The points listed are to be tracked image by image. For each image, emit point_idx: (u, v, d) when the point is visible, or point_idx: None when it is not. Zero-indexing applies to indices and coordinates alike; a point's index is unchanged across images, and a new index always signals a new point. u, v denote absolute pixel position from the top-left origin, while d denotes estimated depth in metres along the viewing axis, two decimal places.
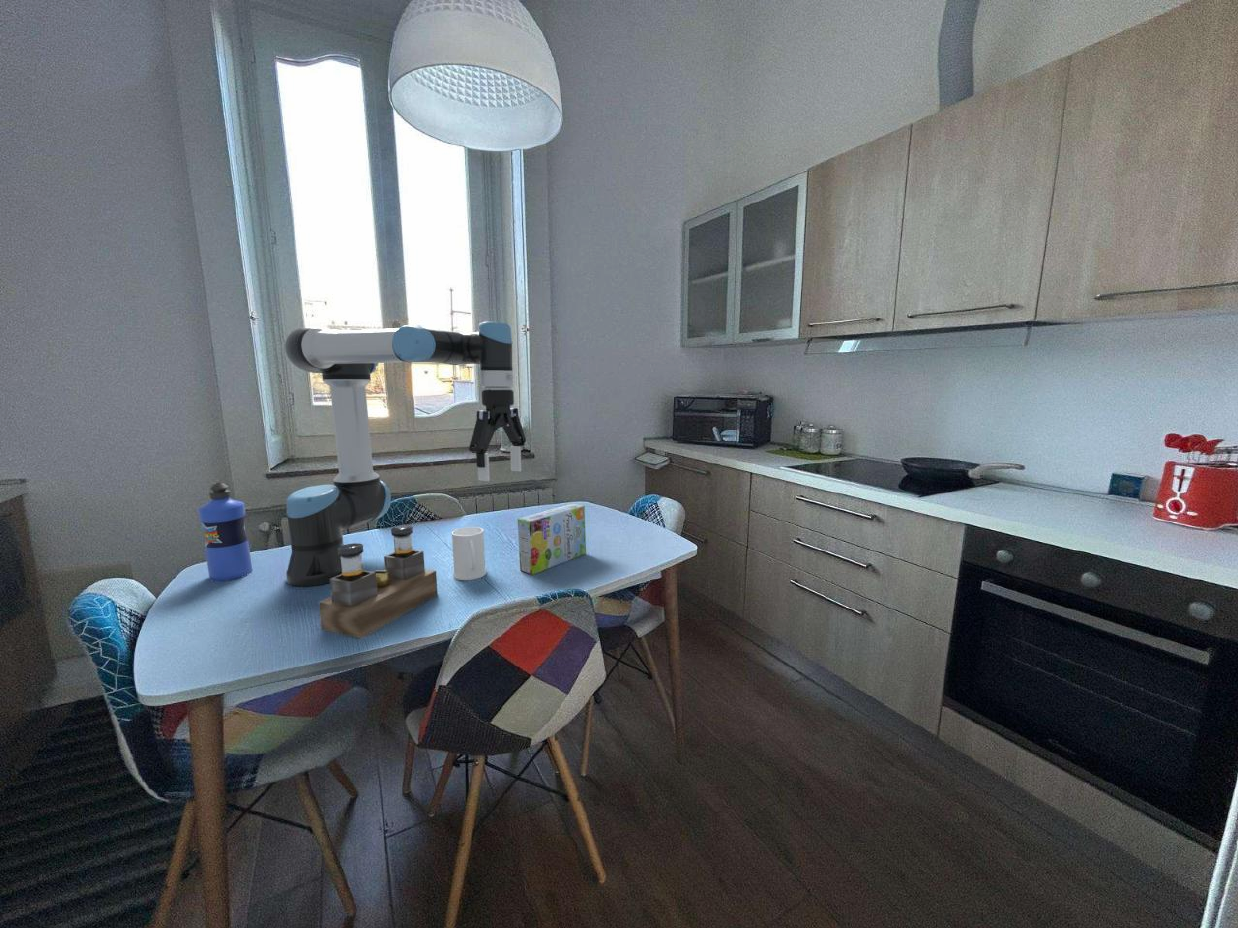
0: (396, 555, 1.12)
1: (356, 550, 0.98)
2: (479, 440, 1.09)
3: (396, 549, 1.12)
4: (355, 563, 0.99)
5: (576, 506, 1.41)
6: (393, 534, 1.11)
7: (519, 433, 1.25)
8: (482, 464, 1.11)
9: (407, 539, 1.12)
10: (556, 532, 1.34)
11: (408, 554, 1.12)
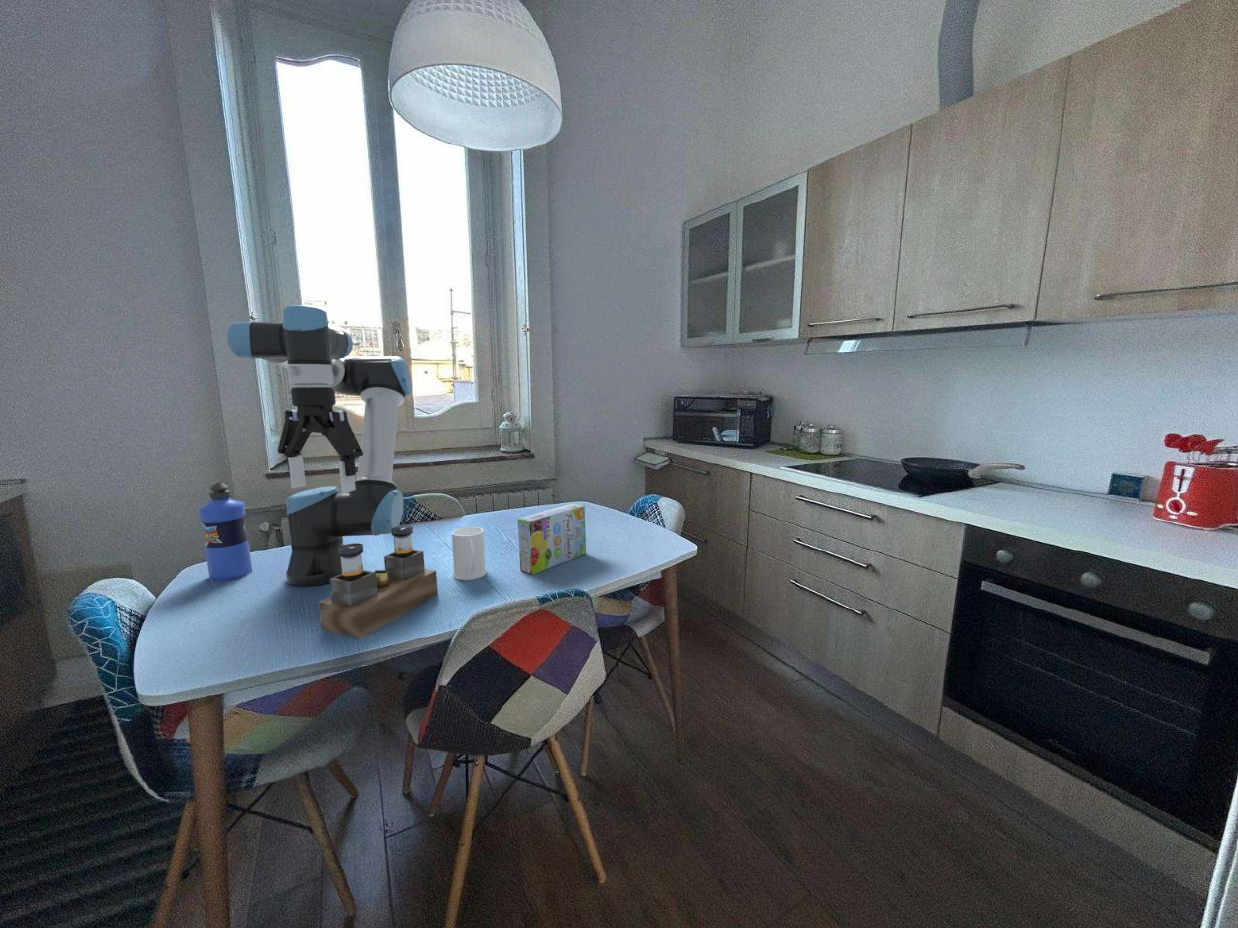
0: (396, 555, 1.12)
1: (356, 550, 0.98)
2: None
3: (396, 549, 1.12)
4: (355, 563, 0.99)
5: (576, 506, 1.41)
6: (393, 534, 1.11)
7: None
8: None
9: (407, 539, 1.12)
10: (556, 532, 1.34)
11: (408, 554, 1.12)
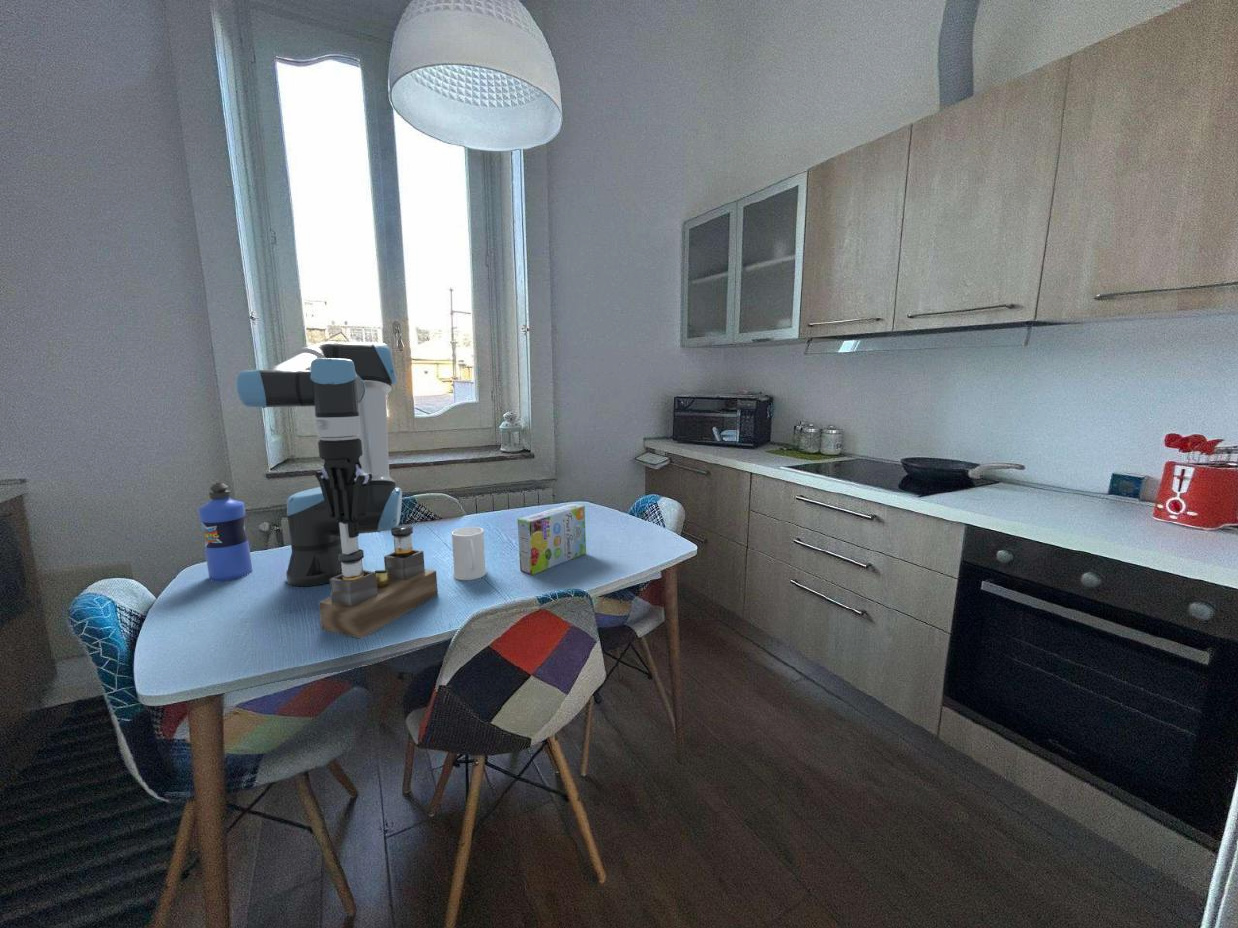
0: (396, 555, 1.12)
1: (357, 556, 0.98)
2: None
3: (396, 549, 1.12)
4: (355, 568, 0.99)
5: (576, 506, 1.41)
6: (393, 534, 1.11)
7: None
8: (340, 533, 0.99)
9: (407, 539, 1.12)
10: (556, 532, 1.34)
11: (408, 554, 1.12)
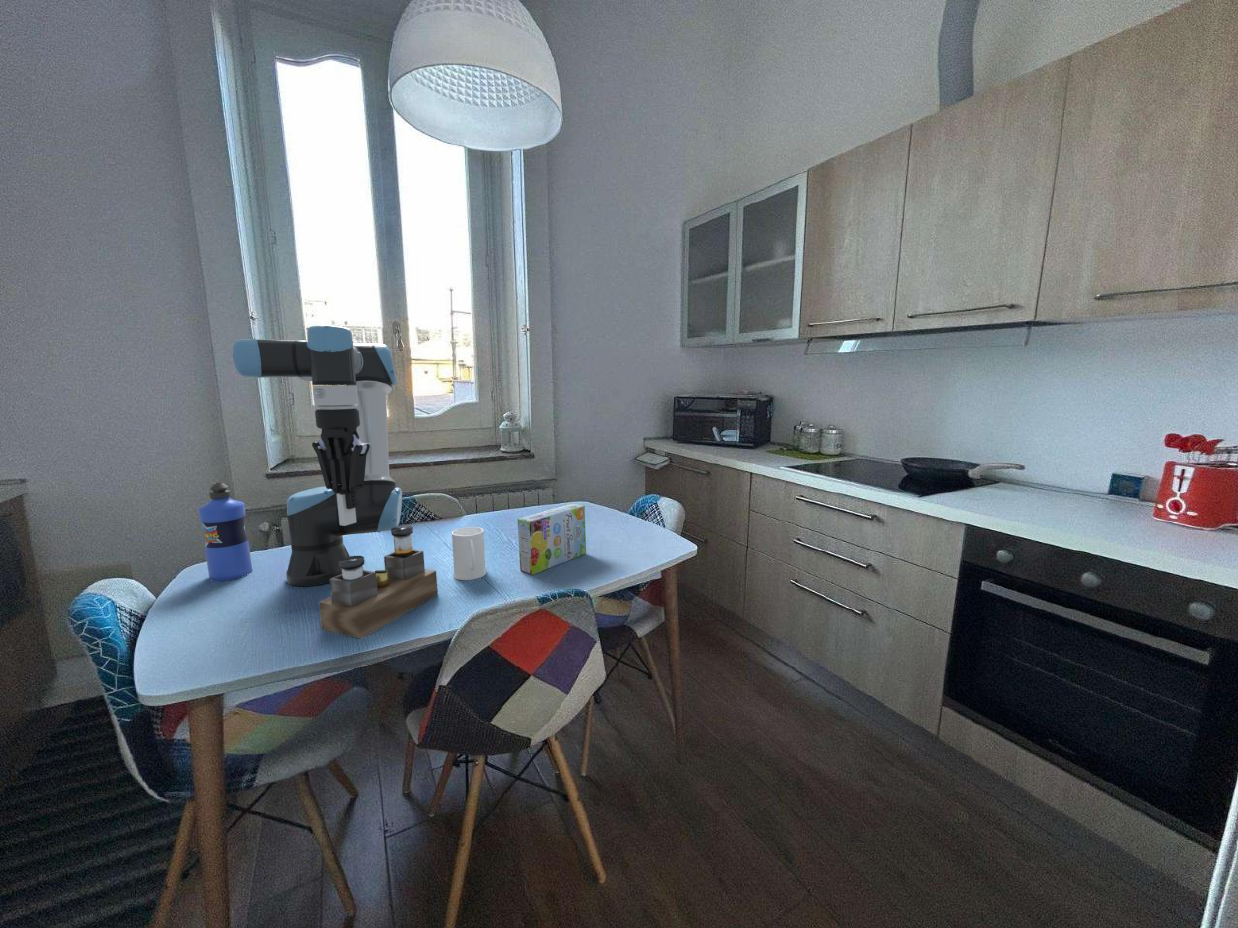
0: (396, 555, 1.12)
1: (357, 563, 0.99)
2: None
3: (396, 549, 1.12)
4: (356, 575, 0.99)
5: (576, 506, 1.41)
6: (393, 534, 1.11)
7: None
8: (337, 504, 0.98)
9: (407, 539, 1.12)
10: (556, 532, 1.34)
11: (408, 554, 1.12)
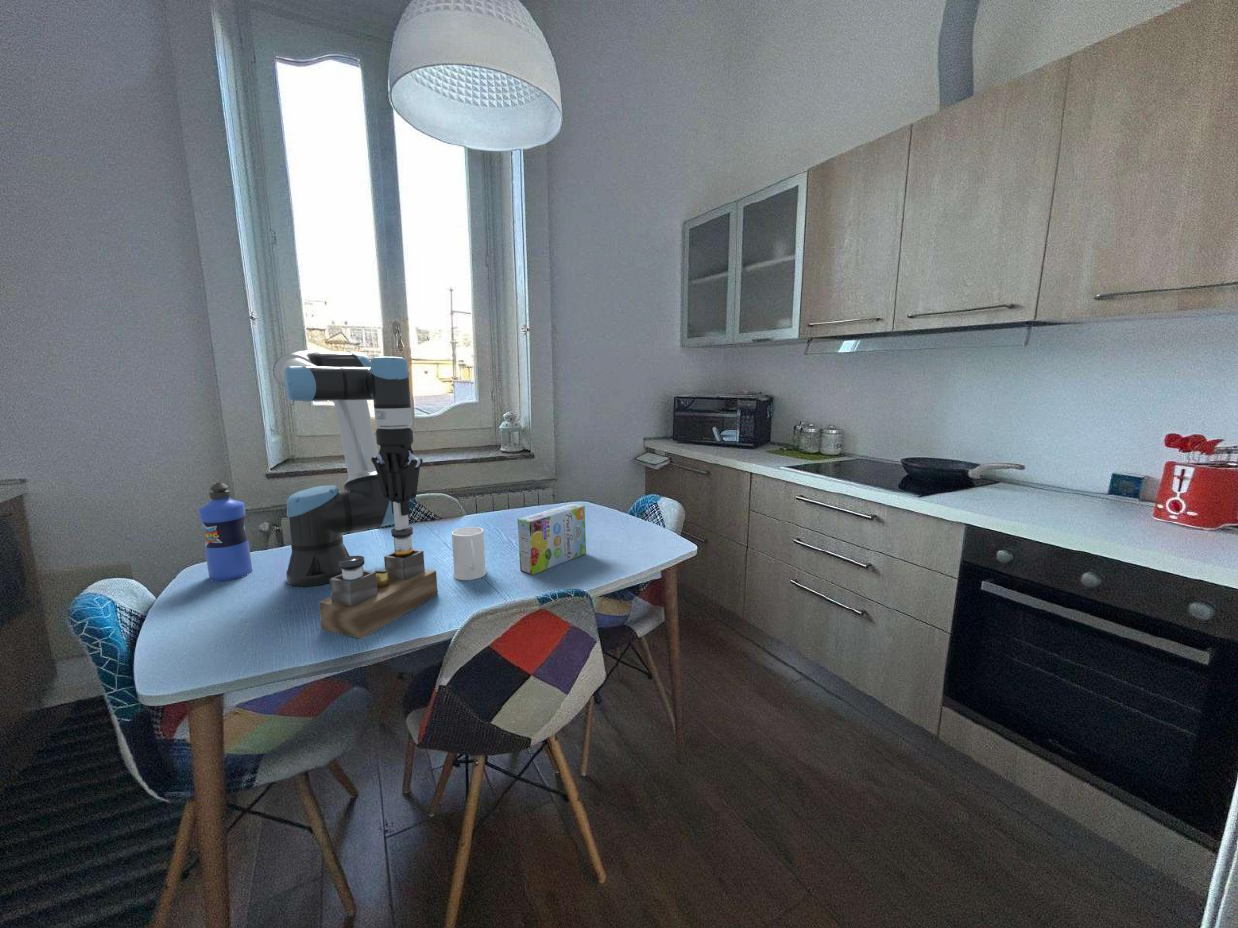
0: (396, 556, 1.12)
1: (357, 563, 0.99)
2: None
3: (396, 550, 1.12)
4: (356, 575, 0.99)
5: (576, 506, 1.41)
6: (393, 535, 1.11)
7: None
8: (393, 511, 1.12)
9: (407, 540, 1.12)
10: (556, 532, 1.34)
11: (408, 555, 1.12)
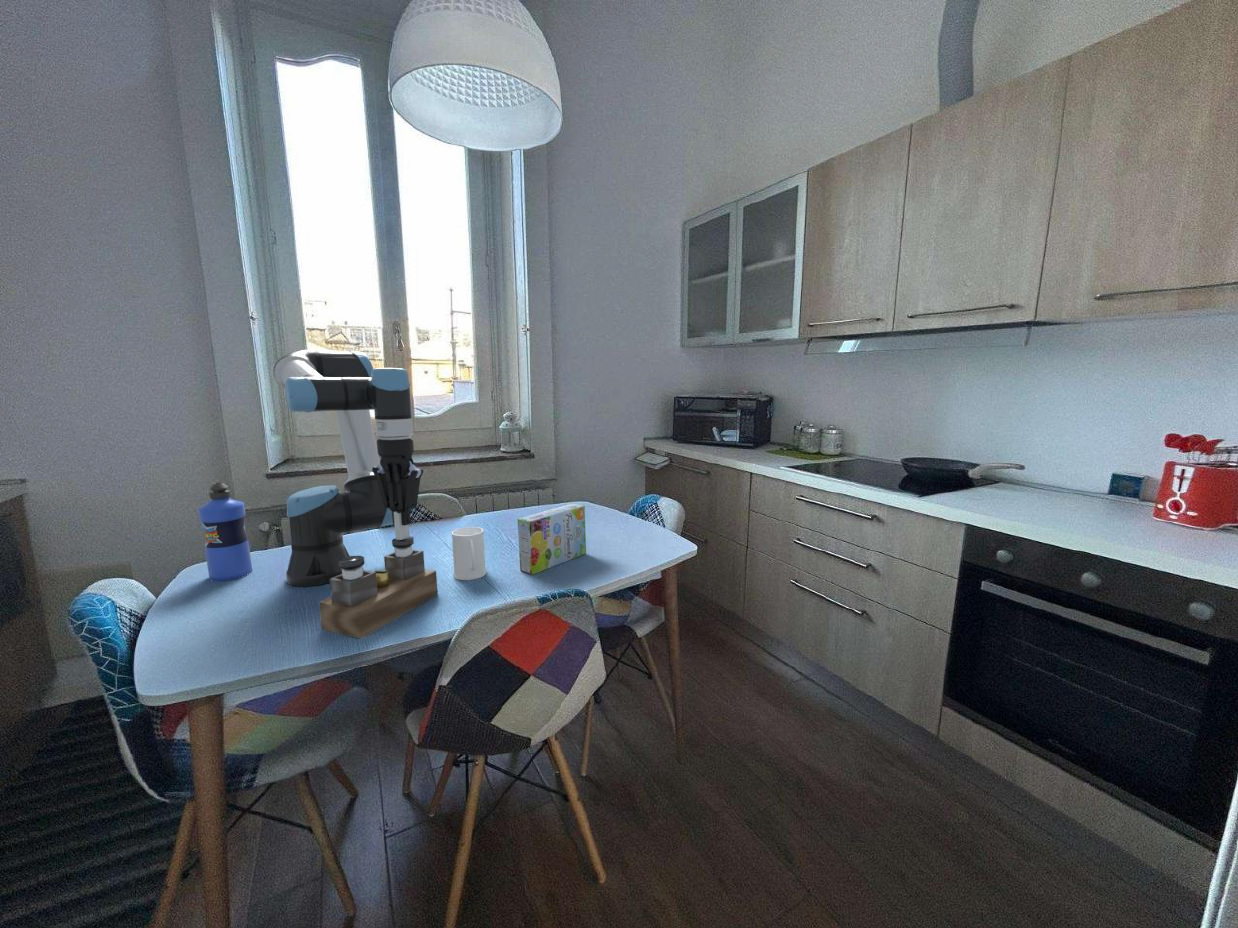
0: None
1: (357, 563, 0.99)
2: None
3: None
4: (356, 575, 0.99)
5: (576, 506, 1.41)
6: (394, 545, 1.11)
7: None
8: (393, 521, 1.12)
9: (408, 550, 1.12)
10: (556, 532, 1.34)
11: None
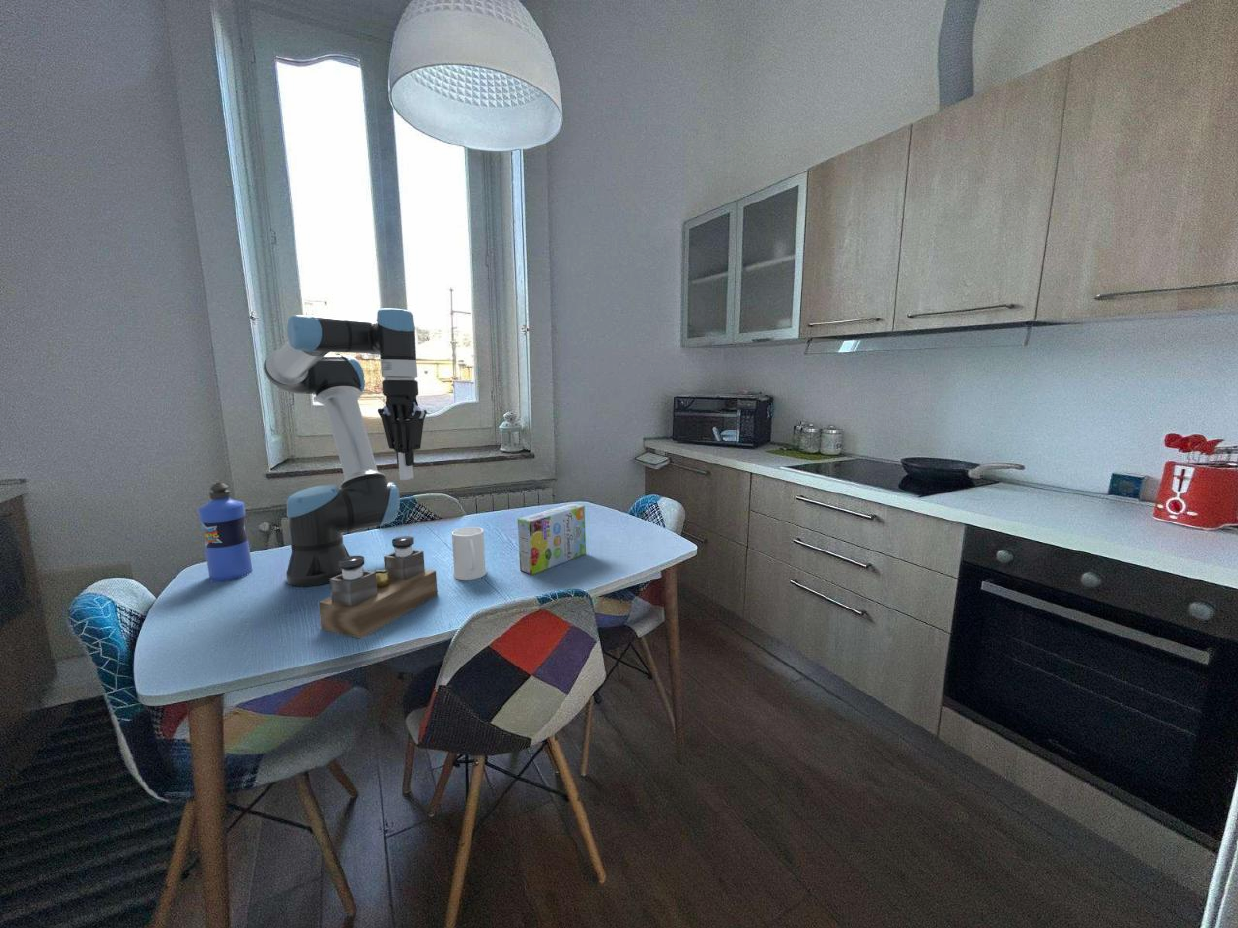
0: None
1: (357, 563, 0.99)
2: None
3: None
4: (356, 575, 0.99)
5: (576, 506, 1.41)
6: (394, 545, 1.11)
7: None
8: (398, 462, 1.15)
9: (408, 550, 1.12)
10: (556, 532, 1.34)
11: None
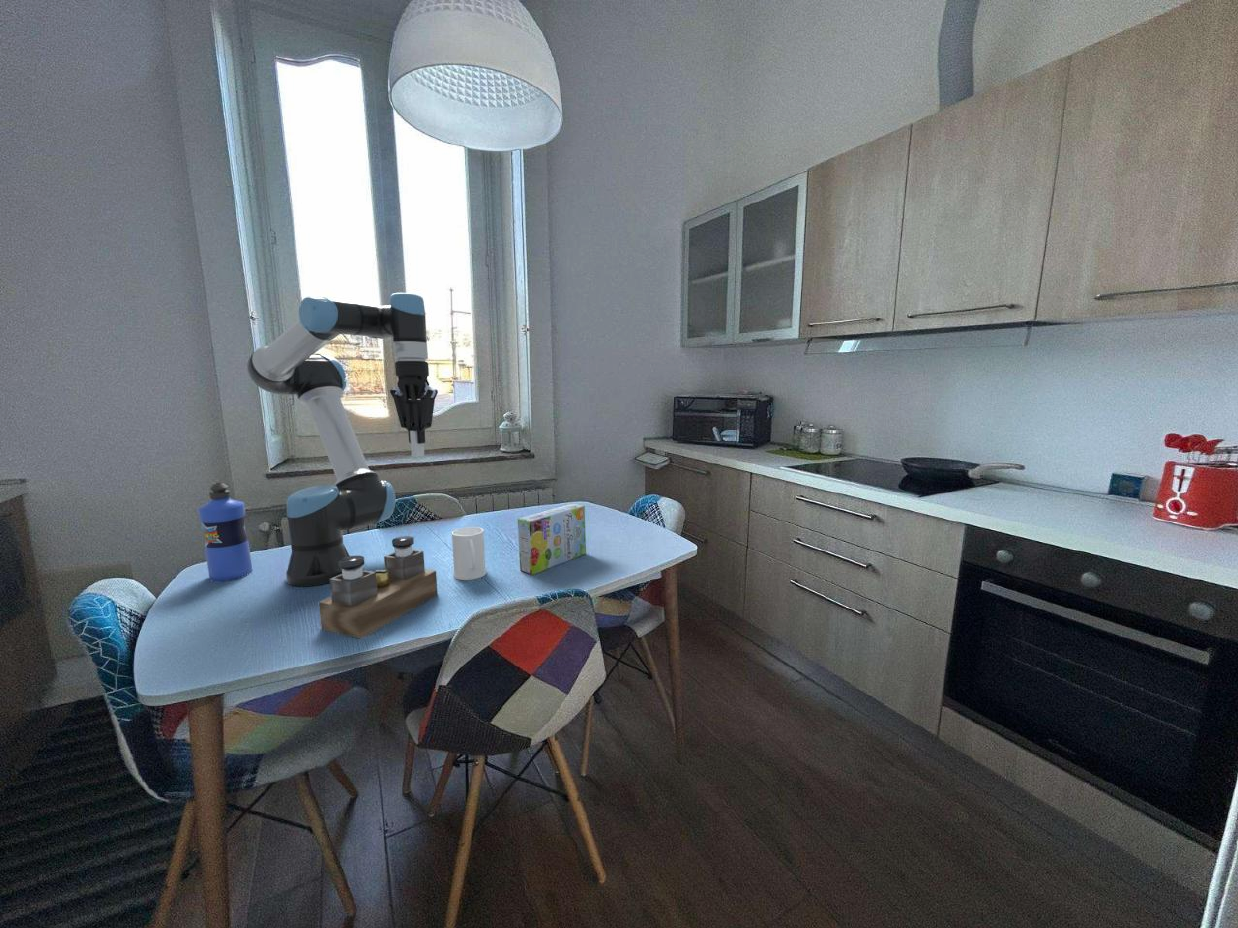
0: None
1: (357, 563, 0.99)
2: None
3: None
4: (356, 575, 0.99)
5: (576, 506, 1.41)
6: (394, 545, 1.11)
7: None
8: (410, 440, 1.21)
9: (408, 550, 1.12)
10: (556, 532, 1.34)
11: None
